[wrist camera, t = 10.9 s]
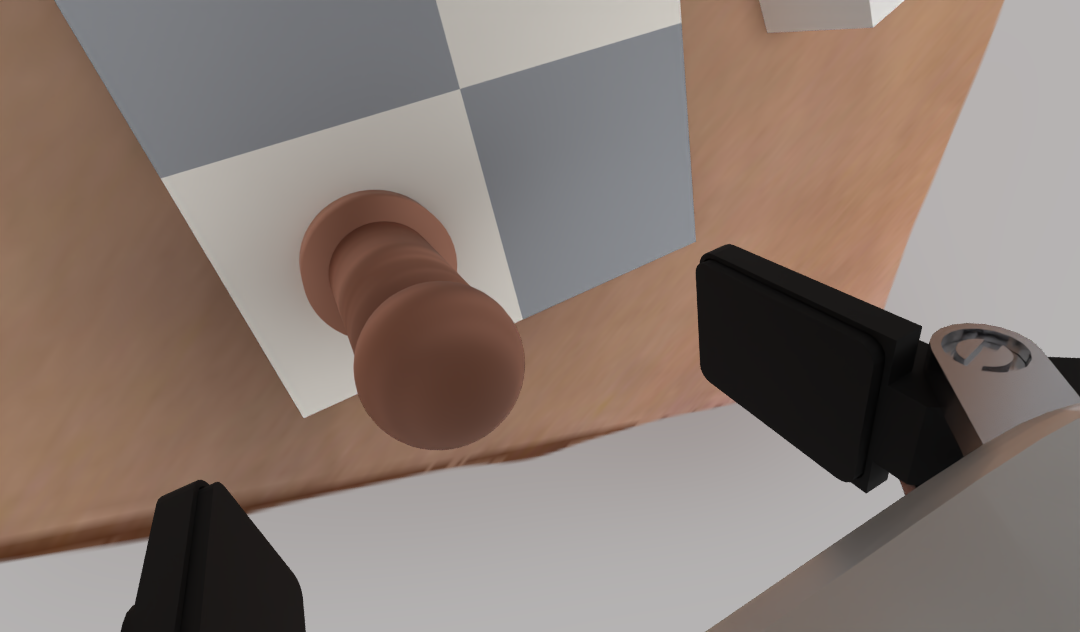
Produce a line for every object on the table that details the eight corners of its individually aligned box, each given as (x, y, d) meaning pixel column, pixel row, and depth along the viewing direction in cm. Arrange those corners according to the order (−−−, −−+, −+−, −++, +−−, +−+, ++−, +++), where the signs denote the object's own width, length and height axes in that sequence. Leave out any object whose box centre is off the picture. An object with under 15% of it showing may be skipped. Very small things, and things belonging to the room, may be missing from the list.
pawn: (421, 169, 19) (552, 252, 11) (463, 295, 21) (593, 439, 13) (270, 220, 17) (287, 362, 9) (336, 349, 20) (394, 548, 12)
